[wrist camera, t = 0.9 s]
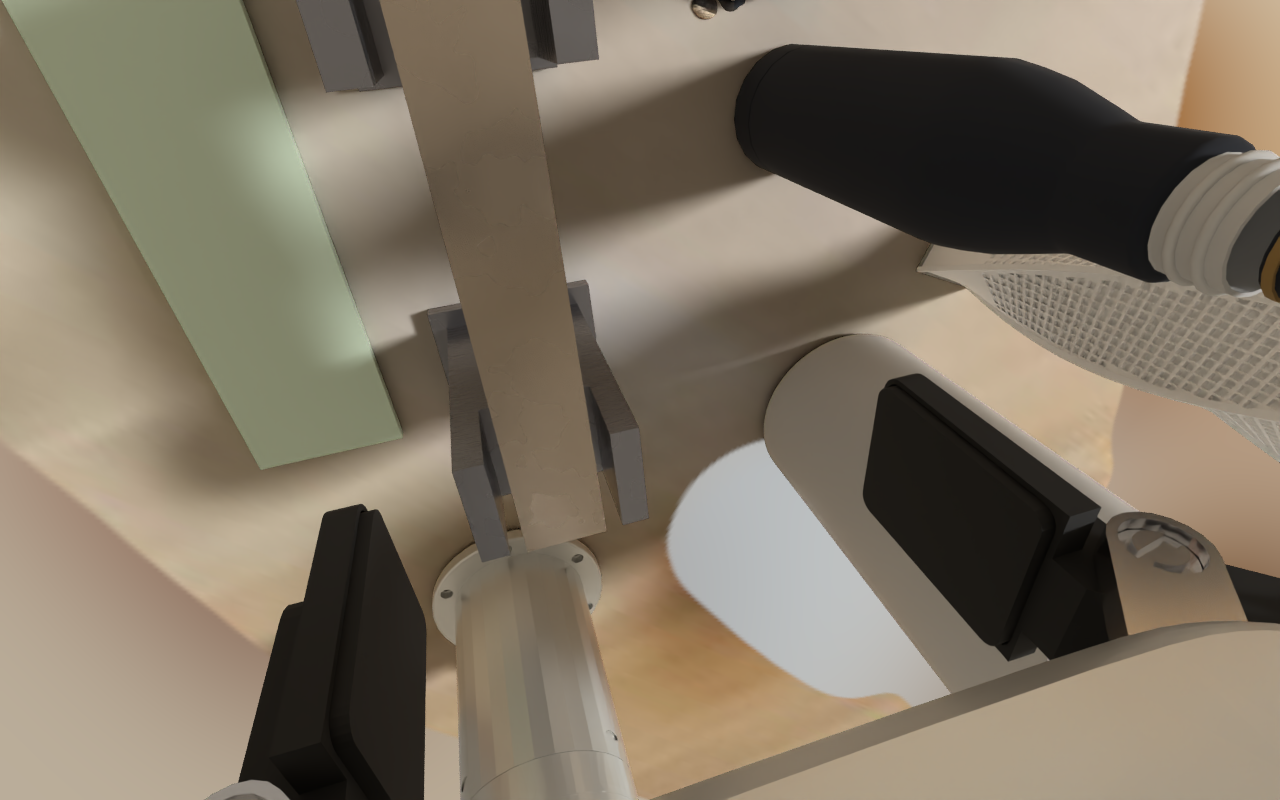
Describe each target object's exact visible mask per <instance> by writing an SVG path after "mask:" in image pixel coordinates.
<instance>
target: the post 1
mask: <svg viewBox="0 0 1280 800" xmlns="http://www.w3.org/2000/svg"><path fill="white" fill-rule="evenodd" d="M296 2H297V5H298V8H299V11H300V14H301V17H302V20H303V23H304V26H305V29H306V32H307V35H308V38H309V41H310V44H311V47H312V50H313V53H314V56H315V59H316V62H317V65H318V68H319V71H320V75H321V78H322V81H323V84H324V87H325V90H326V92H333V91H341V90H350V89H359V91H366V90H375V89H383V88H391V87H399V86H402V83H401V79H400V75H399V72H398V68H397V64H396V60H395V57H394V53H393V49H392V45H391V42H390V38H389V34H388V31H387V27H386V23H385V19H384V16H383V12H382V8H381V4H380V1H379V0H296ZM521 6H522V13H523V19H524V25H525V31H526V37H527V43H528V50H529V56H530V62H531V68H532V70H538V69H546V68H555V67H557V64H564V63H572V62H580V61H589V60H597V59H599V55H598V46H597V37H596V28H595V19H594V9H593V0H521Z"/></svg>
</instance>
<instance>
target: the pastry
mask: <svg viewBox="0 0 1280 800" xmlns="http://www.w3.org/2000/svg"><path fill="white" fill-rule="evenodd" d="M718 1H719V2H720V4H721V5H722V7H723V8H724V9H725V10H726V11H729V12H731V11H734V10H736V9H737V8H738V7H739V6H741V5H742V4H744V3H745V0H735V1H731V0H718ZM692 8H693V11H694V12H695V14H696V15H697V16H698V17H700V18H701V19H710V18H712V17H714V16H715V15H716V13H717V2H716V0H693V1H692Z"/></svg>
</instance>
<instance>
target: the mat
mask: <svg viewBox="0 0 1280 800" xmlns="http://www.w3.org/2000/svg"><path fill="white" fill-rule="evenodd" d="M2 2H3V4H4V6H5V7H6V9H7V11H8V13H9V15H10V16H11V18H12V20H13V22H14V24H15V25H16V27H17V29H18V31H19V33H20V35H21V36H22V38H23V40H24V42H25V44H26V45H27V47H28V49H29V51H30V53H31V54H32V56H33V58H34V60H35V62H36V64H37V65H38V67H39V69H40V71H41V73H42V74H43V76H44V78H45V80H46V82H47V84H48V85H49V87H50V89H51V91H52V93H53V94H54V96H55V98H56V100H57V102H58V103H59V105H60V107H61V109H62V111H63V113H64V114H65V116H66V118H67V120H68V122H69V123H70V125H71V127H72V129H73V131H74V132H75V134H76V136H77V138H78V140H79V142H80V143H81V145H82V147H83V149H84V151H85V152H86V154H87V156H88V158H89V160H90V162H91V163H92V165H93V167H94V169H95V171H96V172H97V174H98V176H99V178H100V180H101V181H102V183H103V185H104V187H105V189H106V191H107V192H108V194H109V196H110V198H111V200H112V201H113V203H114V205H115V207H116V209H117V210H118V212H119V214H120V216H121V218H122V220H123V221H124V223H125V225H126V227H127V229H128V230H129V232H130V234H131V236H132V238H133V239H134V241H135V243H136V245H137V247H138V249H139V250H140V252H141V254H142V256H143V258H144V259H145V261H146V263H147V265H148V267H149V269H150V270H151V272H152V274H153V276H154V278H155V279H156V281H157V283H158V285H159V287H160V288H161V290H162V292H163V294H164V296H165V298H166V299H167V301H168V303H169V305H170V307H171V308H172V310H173V312H174V314H175V316H176V317H177V319H178V321H179V323H180V325H181V327H182V328H183V330H184V332H185V334H186V336H187V337H188V339H189V341H190V343H191V345H192V347H193V348H194V350H195V352H196V354H197V356H198V357H199V359H200V361H201V363H202V365H203V366H204V368H205V370H206V372H207V374H208V376H209V377H210V379H211V381H212V383H213V385H214V386H215V388H216V390H217V392H218V394H219V395H220V397H221V399H222V401H223V403H224V405H225V406H226V408H227V410H228V412H229V414H230V415H231V417H232V419H233V421H234V423H235V424H236V426H237V428H238V430H239V432H240V434H241V435H242V437H243V439H244V441H245V443H246V444H247V446H248V448H249V450H250V452H251V454H252V455H253V457H254V459H255V461H256V463H257V464H258V466H259V468H260V470H263V469H267V468H272V467H276V466H281V465H285V464H290V463H294V462H299V461H303V460H308V459H312V458H316V457H321V456H325V455H330V454H334V453H339V452H343V451H348V450H352V449H357V448H361V447H366V446H370V445H374V444H379V443H383V442H388V441H392V440H397V439H401V438H403V431H402V429H401V426H400V423H399V420H398V418H397V415H396V412H395V410H394V407H393V404H392V402H391V399H390V396H389V393H388V391H387V388H386V385H385V383H384V380H383V377H382V375H381V372H380V369H379V366H378V364H377V361H376V358H375V356H374V353H373V350H372V348H371V345H370V342H369V340H368V337H367V334H366V331H365V329H364V326H363V323H362V321H361V318H360V315H359V313H358V310H357V307H356V304H355V302H354V299H353V296H352V294H351V291H350V288H349V286H348V283H347V280H346V277H345V275H344V272H343V269H342V267H341V264H340V261H339V259H338V256H337V253H336V251H335V248H334V245H333V242H332V240H331V237H330V234H329V232H328V229H327V226H326V224H325V221H324V218H323V215H322V213H321V210H320V207H319V205H318V202H317V199H316V197H315V194H314V191H313V188H312V186H311V183H310V180H309V178H308V175H307V172H306V170H305V167H304V164H303V161H302V159H301V156H300V153H299V151H298V148H297V145H296V143H295V140H294V137H293V135H292V132H291V129H290V126H289V124H288V121H287V118H286V116H285V113H284V110H283V108H282V105H281V102H280V99H279V97H278V94H277V91H276V89H275V86H274V83H273V81H272V78H271V75H270V72H269V70H268V67H267V64H266V62H265V59H264V56H263V54H262V51H261V48H260V45H259V43H258V40H257V37H256V35H255V32H254V29H253V27H252V24H251V21H250V19H249V16H248V13H247V10H246V8H245V5H244V2H243V0H2Z"/></svg>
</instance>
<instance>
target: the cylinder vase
mask: <svg viewBox="0 0 1280 800" xmlns="http://www.w3.org/2000/svg"><path fill="white" fill-rule="evenodd" d="M915 373H919V374H922V375H924V376H926V377H927V378H928V379H930V380H931V381H932V382H934V383H935V384H936V385H938V386H939V387H940V388H942V389H943V390H944V391H946V392H947V393H948V394H950V395H951V396H952V397H954V398H955V399H957V400H958V401H959V402H961V403H962V404H963V405H965V406H966V407H967V408H969V409H970V410H971V411H973V412H974V413H975V414H977V415H978V416H979V417H981V418H982V419H983V420H985V421H986V422H987V423H989V424H990V425H992V426H993V427H994V428H996V429H997V430H998V431H1000V432H1001V433H1002V434H1004V435H1005V436H1006V437H1008V438H1009V439H1010V440H1012V441H1013V442H1014V443H1016V444H1017V445H1018V446H1020V447H1021V448H1023V449H1024V450H1025V451H1027V452H1028V453H1029V454H1031V455H1032V456H1033V457H1035V458H1036V459H1037V460H1039V461H1040V462H1041V463H1043V464H1044V465H1045V466H1047V467H1048V468H1049V469H1051V470H1052V471H1053V472H1055V473H1056V474H1058V475H1059V476H1060V477H1062V478H1063V479H1064V480H1066V481H1067V482H1068V483H1070V484H1071V485H1072V486H1074V487H1075V488H1076V489H1078V490H1079V491H1080V492H1082V493H1083V494H1084V495H1086V496H1087V497H1088V498H1090V499H1091V500H1093V501H1094V502H1095V503H1097V504H1098V505H1099V506H1101V510H1100V512H1099V514H1098V516H1097V517H1098V518H1100V519H1101V520H1102V521H1103V522H1105V523H1106V524H1107V523H1108V521H1109V520H1110V519H1111V518H1112V517H1113V516H1116V515H1118V514H1120V513H1125V512H1139V511H1138V510H1137V509H1135V508H1134V507H1132V506H1131V505H1129V504H1128V503H1127V502H1125V501H1124V500H1122V499H1121V498H1119V497H1118V496H1116V495H1115V494H1114V493H1112V492H1111V491H1109V490H1108V489H1106V488H1105V487H1104V486H1102V485H1101V484H1099V483H1098V482H1096V481H1095V480H1094V479H1092V478H1091V477H1089V476H1088V475H1086V474H1085V473H1084V472H1082V471H1081V470H1079V469H1078V468H1076V467H1075V466H1073V465H1072V464H1071V463H1069V462H1068V461H1066V460H1065V459H1063V458H1062V457H1061V456H1059V455H1058V454H1056V453H1055V452H1053V451H1052V450H1051V449H1049V448H1048V447H1046V446H1045V445H1043V444H1042V443H1041V442H1039V441H1038V440H1036V439H1035V438H1033V437H1032V436H1030V435H1029V434H1028V433H1026V432H1025V431H1023V430H1022V429H1020V428H1019V427H1018V426H1016V425H1015V424H1013V423H1012V422H1010V421H1009V420H1008V419H1006V418H1005V417H1003V416H1002V415H1000V414H999V413H997V412H996V411H995V410H993V409H992V408H990V407H989V406H987V405H986V404H985V403H983V402H982V401H980V400H979V399H977V398H976V397H975V396H973V395H972V394H970V393H969V392H967V391H966V390H965V389H963V388H962V387H960V386H959V385H957V384H956V383H954V382H953V381H952V380H950V379H949V378H947V377H946V376H944V375H943V374H942V373H940V372H939V371H937V370H936V369H934V368H933V367H932V366H930V365H929V364H927V363H926V362H924V361H923V360H921V359H920V358H919V357H917V356H916V355H914V354H913V353H911V352H910V351H909V350H907V349H906V348H904V347H903V346H901V345H900V344H898V343H897V342H895V341H893V340H891V339H889V338H886V337H883V336H879V335H874V334H856V335H849V336H845V337H841V338H838V339H835V340H832V341H830V342H827V343H825V344H823V345H821V346H819V347H818V348H816V349H814V350H813V351H811V352H810V353H808V354H807V355H806V356H804V357H803V358H802V359H801V360H799V361H798V362H797V363H796V364H795V365H794V366H793V367H792V368H791V369H790V370H789V371H788V372H787V374H786V375H785V376H784V377H783V379H782V380H781V381H780V383H779V384H778V386H777V387H776V389H775V391H774V393H773V395H772V397H771V399H770V401H769V404H768V407H767V410H766V414H765V419H764V440H765V444H766V447H767V450H768V453H769V455H770V457H771V458H772V460H773V461H774V463H775V464H776V465H777V467H778V468H779V469H780V471H781V472H782V473H783V474H784V476H785V477H786V478H787V480H788V481H789V482H790V483H791V485H792V486H793V487H794V489H795V490H796V491H797V493H798V494H799V495H800V496H801V498H802V499H803V501H804V502H805V503H806V504H807V506H808V507H809V508H810V510H811V511H812V512H813V514H814V515H815V516H816V517H817V519H818V520H819V521H820V523H821V524H822V525H823V527H824V528H825V529H826V531H827V532H828V533H829V535H831V537H832V538H833V540H834V541H835V542H836V544H837V545H838V546H839V548H840V549H841V550H842V551H843V553H844V554H845V555H846V557H847V558H848V559H849V561H850V562H851V563H852V564H853V566H854V567H855V568H856V569H857V571H858V572H859V574H860V575H861V576H862V578H863V579H864V580H865V582H866V583H867V584H868V585H869V587H870V588H871V589H872V591H873V592H874V593H875V595H876V596H877V597H878V598H879V600H880V601H881V602H882V604H883V605H884V606H885V608H886V609H887V610H888V612H889V613H890V614H891V616H892V617H893V618H894V619H895V620H896V622H897V623H898V625H899V626H900V627H901V629H902V630H903V631H904V632H905V634H906V635H907V636H908V638H909V639H910V640H911V642H912V643H913V644H914V645H915V647H916V648H917V649H918V651H919V652H920V653H921V655H922V656H923V657H924V659H925V660H926V661H927V663H928V664H929V665H930V666H931V668H932V669H933V670H934V672H935V673H936V674H937V676H938V677H939V678H940V679H941V681H942V682H943V683H944V685H945V686H946V687H947V689H948V690H949V691H950V693H951V694H953V693H956V692H959V691H961V690H964V689H967V688H970V687H973V686H976V685H979V684H982V683H985V682H988V681H991V680H993V679H996V678H999V677H1002V676H1005V675H1008V674H1011V673H1014V672H1017V671H1020V670H1023V669H1025V668H1028V667H1031V666H1034V665H1037V664H1040V663H1043V662H1046V661H1047V657H1046V656H1045V655H1044V654H1043V653H1042V652H1041V651H1040V650H1039V649H1038V647H1037V649H1036V651H1035V653H1033V654H1030V655H1027V656H1024V657H1021V658H1018V659H1015V660H1012V661H1009V662H1008V661H1007V660H1006V659H1005V658H1004V656H1003V655H1002V654H1001V653H1000V652H999V651H998V650H997V648H996V647H995V646H989V645H987V644H986V643H984V642H983V641H982V640H981V639H980V638H979V637H978V635H977V634H976V633H975V632H974V631H973V630H972V629H971V627H970V626H969V625H968V624H967V623H966V622H965V621H964V619H963V618H962V617H961V616H960V615H959V614H958V612H957V611H956V610H955V609H954V608H953V607H952V606H951V604H950V603H949V602H948V601H947V600H946V599H945V598H944V596H943V595H942V594H941V593H940V592H939V591H938V589H937V588H936V587H935V586H934V585H933V584H932V583H931V581H930V580H929V579H928V578H927V577H926V576H925V575H924V573H923V572H922V571H921V570H920V569H919V568H918V566H917V565H916V564H915V563H914V562H913V561H912V560H911V558H910V557H909V556H908V555H907V554H906V553H905V552H904V550H903V549H902V548H901V547H900V546H899V545H898V543H897V542H896V541H895V540H894V539H893V538H892V537H891V535H890V534H889V533H888V532H887V531H886V530H885V529H884V527H883V526H882V525H881V524H880V523H879V522H878V520H877V519H876V518H875V517H874V516H873V515H872V514H871V512H870V511H869V510H868V509H867V507H866V505H865V503H864V500H863V486H864V480H865V474H866V468H867V461H868V455H869V449H870V443H871V437H872V431H873V424H874V418H875V412H876V406H877V400H878V395H879V392H880V391H881V390H882V389H884V387H885V384H886V383H887V381H888V380H891V379H894V378H898V377H902V376H906V375H910V374H915Z"/></svg>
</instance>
